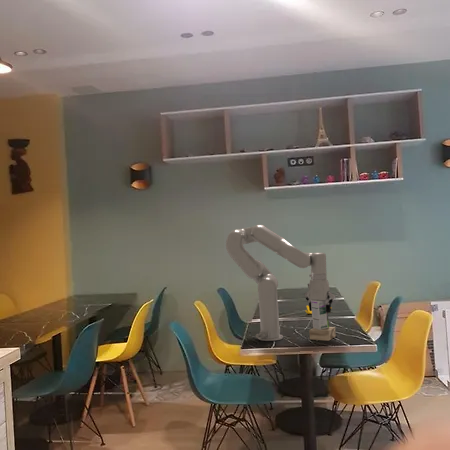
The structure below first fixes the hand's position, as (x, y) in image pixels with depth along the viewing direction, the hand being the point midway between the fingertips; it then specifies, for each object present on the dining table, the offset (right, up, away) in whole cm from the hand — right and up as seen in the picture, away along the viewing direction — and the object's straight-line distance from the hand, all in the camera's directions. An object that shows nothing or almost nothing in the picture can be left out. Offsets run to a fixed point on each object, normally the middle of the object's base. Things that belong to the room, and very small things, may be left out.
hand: (319, 311), depth 258 cm
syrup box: (+1, -9, 0) cm, 9 cm away
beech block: (+1, -14, 0) cm, 14 cm away
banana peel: (+13, -13, +72) cm, 74 cm away
